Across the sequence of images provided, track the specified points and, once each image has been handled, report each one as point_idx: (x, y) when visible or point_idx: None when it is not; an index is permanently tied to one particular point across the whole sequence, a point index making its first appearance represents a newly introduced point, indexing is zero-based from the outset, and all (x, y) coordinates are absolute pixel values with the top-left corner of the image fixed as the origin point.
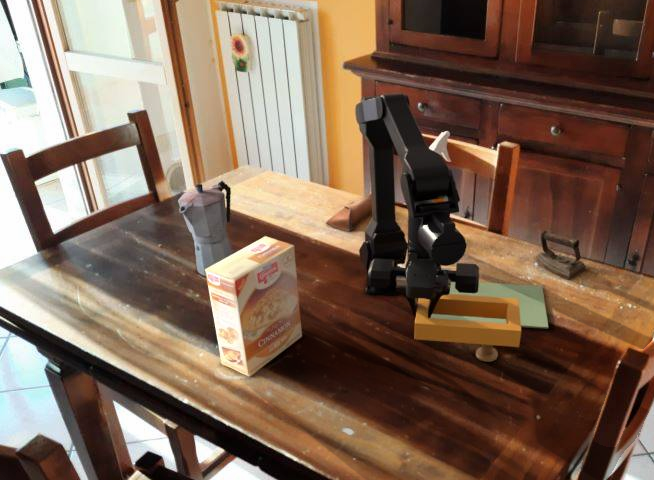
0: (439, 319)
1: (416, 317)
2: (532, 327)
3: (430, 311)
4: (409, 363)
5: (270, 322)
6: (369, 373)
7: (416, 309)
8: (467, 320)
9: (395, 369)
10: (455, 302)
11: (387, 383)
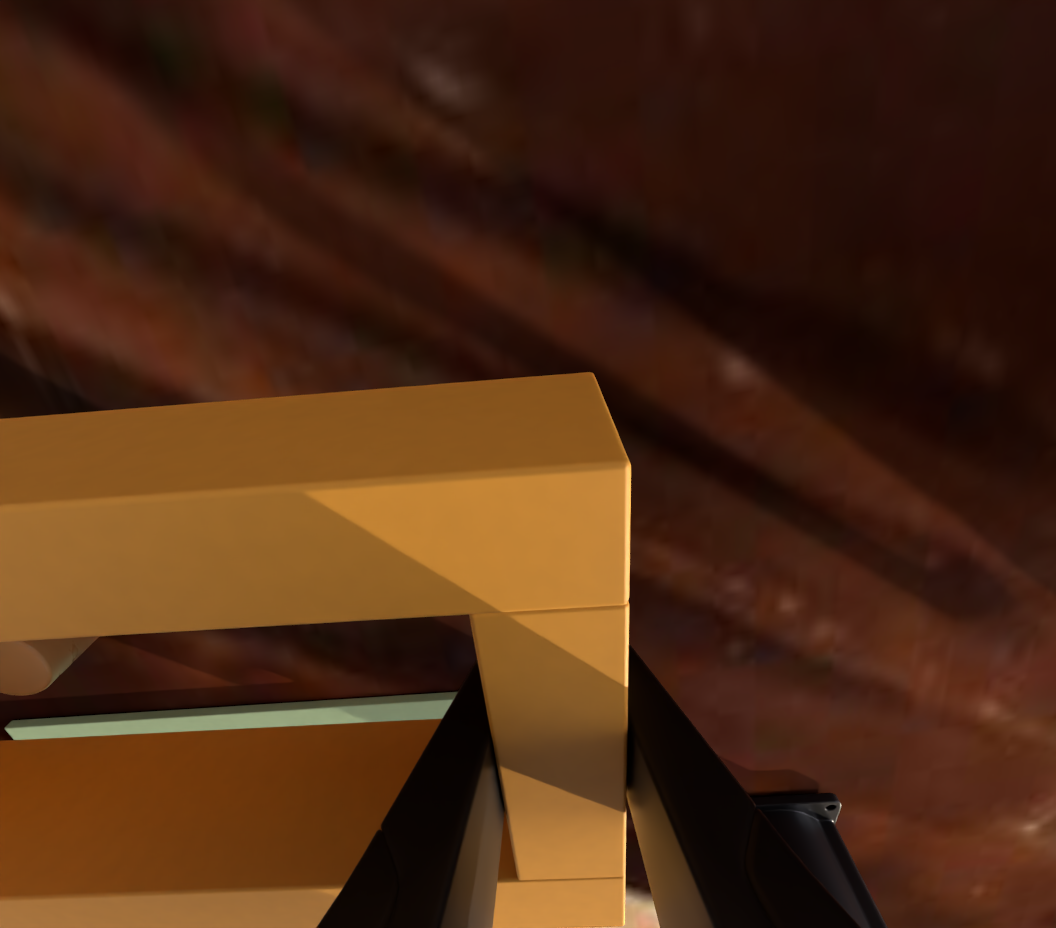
0: (295, 608)
1: (619, 594)
2: (78, 717)
3: (466, 726)
4: (596, 351)
5: None
6: (859, 184)
7: (633, 730)
8: (366, 714)
9: (680, 269)
10: (283, 855)
11: (730, 79)
